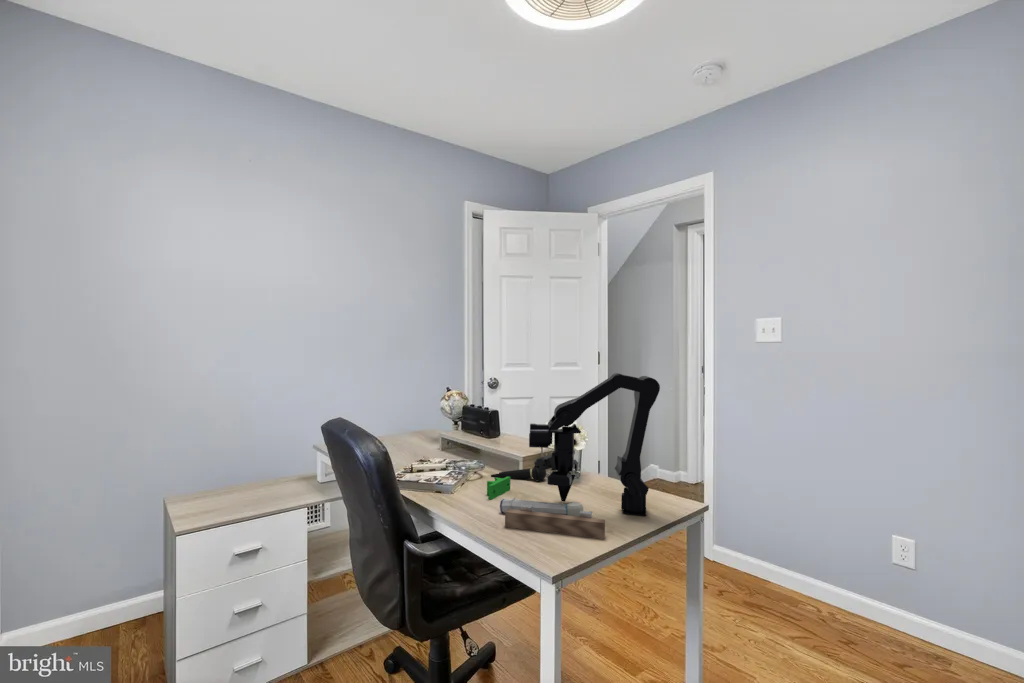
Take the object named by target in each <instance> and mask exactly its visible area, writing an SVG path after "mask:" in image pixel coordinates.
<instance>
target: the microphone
mask: <svg viewBox="0 0 1024 683" xmlns="http://www.w3.org/2000/svg"><path fill="white" fill-rule="evenodd" d="M546 470H547V469H546ZM546 470H543V471H541V472H537V469H536V468H535V467H533V468H531V467H530V468H522V469H516V470H515V469H513V470H507V471H504V470H503V471H501V472H500V471H499V473H494V474H493V473H492V474H490V477H494V478H496V477H497V478H502V479H503V478H505V477H507V476H508V477H510V479H520V480H525V479H531V480H532V479H533V480H535V481H536V482H540V481H543V480H544V479H545V478H546V476H547V471H546Z"/></svg>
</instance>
